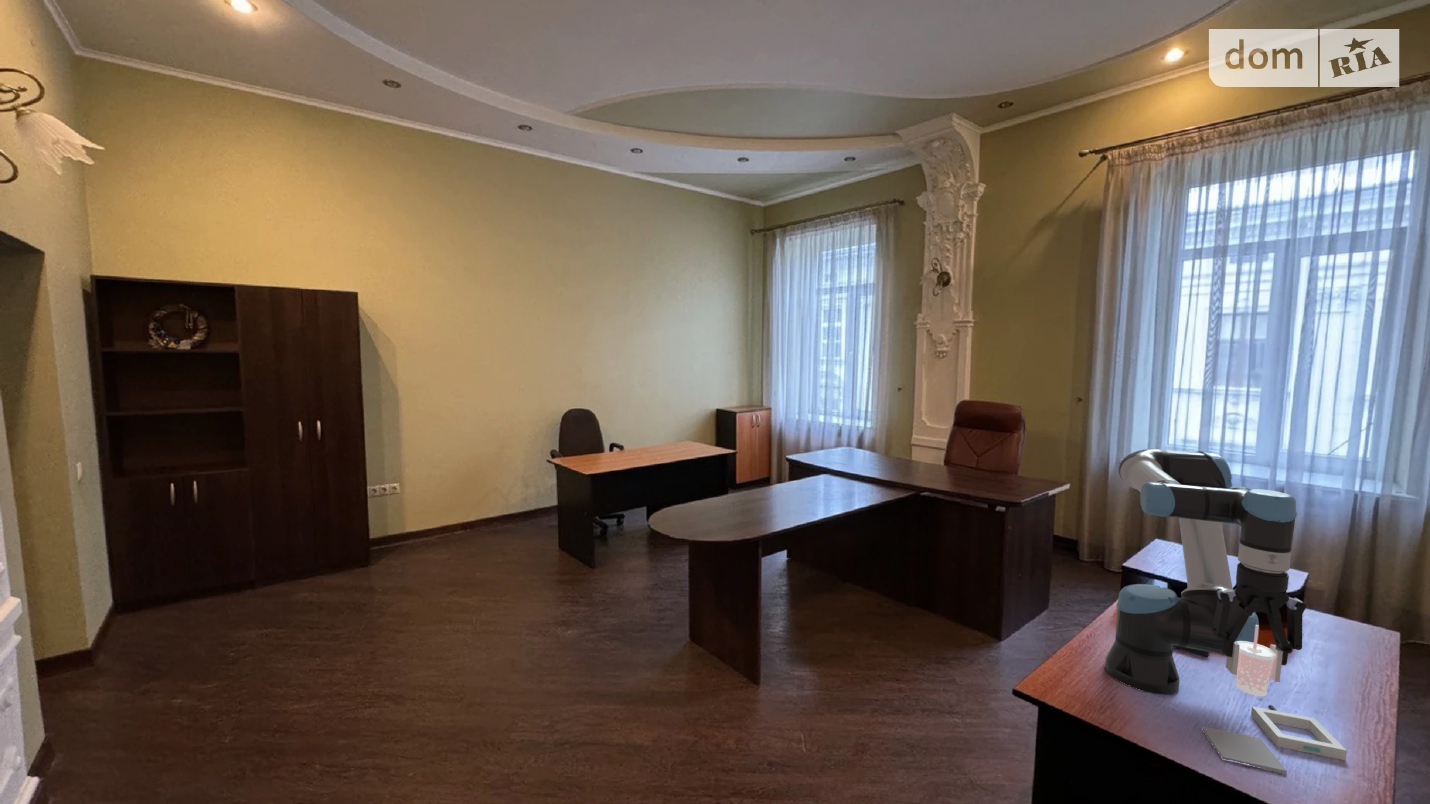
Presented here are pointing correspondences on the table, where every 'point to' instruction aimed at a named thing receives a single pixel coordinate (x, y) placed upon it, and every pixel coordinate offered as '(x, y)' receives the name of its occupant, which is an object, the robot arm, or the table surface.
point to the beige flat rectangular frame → (1322, 747)
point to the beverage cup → (1254, 667)
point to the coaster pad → (1244, 749)
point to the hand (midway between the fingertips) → (1252, 674)
